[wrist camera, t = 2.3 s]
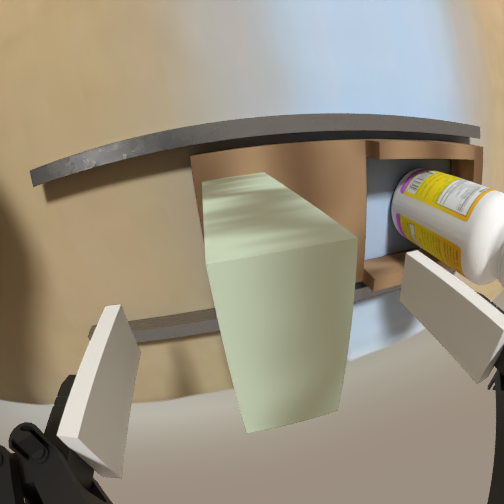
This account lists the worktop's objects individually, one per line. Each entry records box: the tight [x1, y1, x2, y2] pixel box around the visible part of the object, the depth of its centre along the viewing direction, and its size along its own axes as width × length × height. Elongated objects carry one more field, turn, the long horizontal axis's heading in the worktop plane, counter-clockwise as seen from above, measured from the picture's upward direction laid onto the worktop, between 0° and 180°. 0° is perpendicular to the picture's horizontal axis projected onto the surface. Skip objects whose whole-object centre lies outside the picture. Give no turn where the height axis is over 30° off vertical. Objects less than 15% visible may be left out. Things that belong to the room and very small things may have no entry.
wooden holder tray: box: [190, 139, 483, 433], centre depth 16 cm, size 24×11×13 cm, turn 96°
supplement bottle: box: [391, 168, 504, 287], centre depth 17 cm, size 7×7×13 cm
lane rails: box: [30, 114, 480, 343], centre depth 21 cm, size 38×15×2 cm, turn 96°
